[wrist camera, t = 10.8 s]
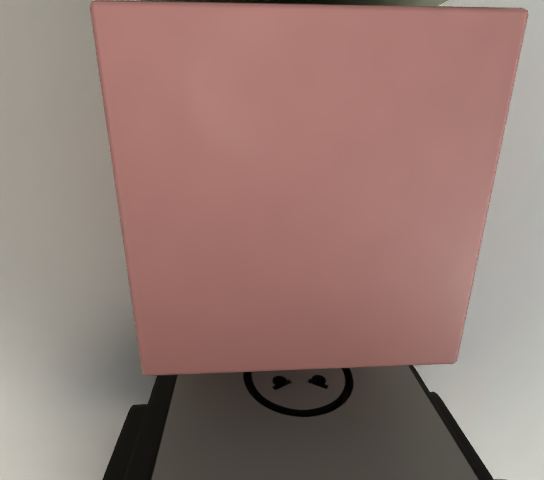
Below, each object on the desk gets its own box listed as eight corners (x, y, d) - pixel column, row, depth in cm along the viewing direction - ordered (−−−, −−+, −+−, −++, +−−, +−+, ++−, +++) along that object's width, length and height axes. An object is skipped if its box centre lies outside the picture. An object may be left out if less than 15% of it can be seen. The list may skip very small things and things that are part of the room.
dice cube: (193, 312, 10) (147, 493, 5) (374, 310, 10) (478, 479, 6) (200, 450, 12) (170, 678, 7) (355, 444, 12) (424, 658, 8)
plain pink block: (384, 52, 9) (535, -5, 4) (365, 250, 11) (458, 365, 6) (172, 50, 9) (84, -12, 4) (188, 254, 10) (140, 378, 6)
